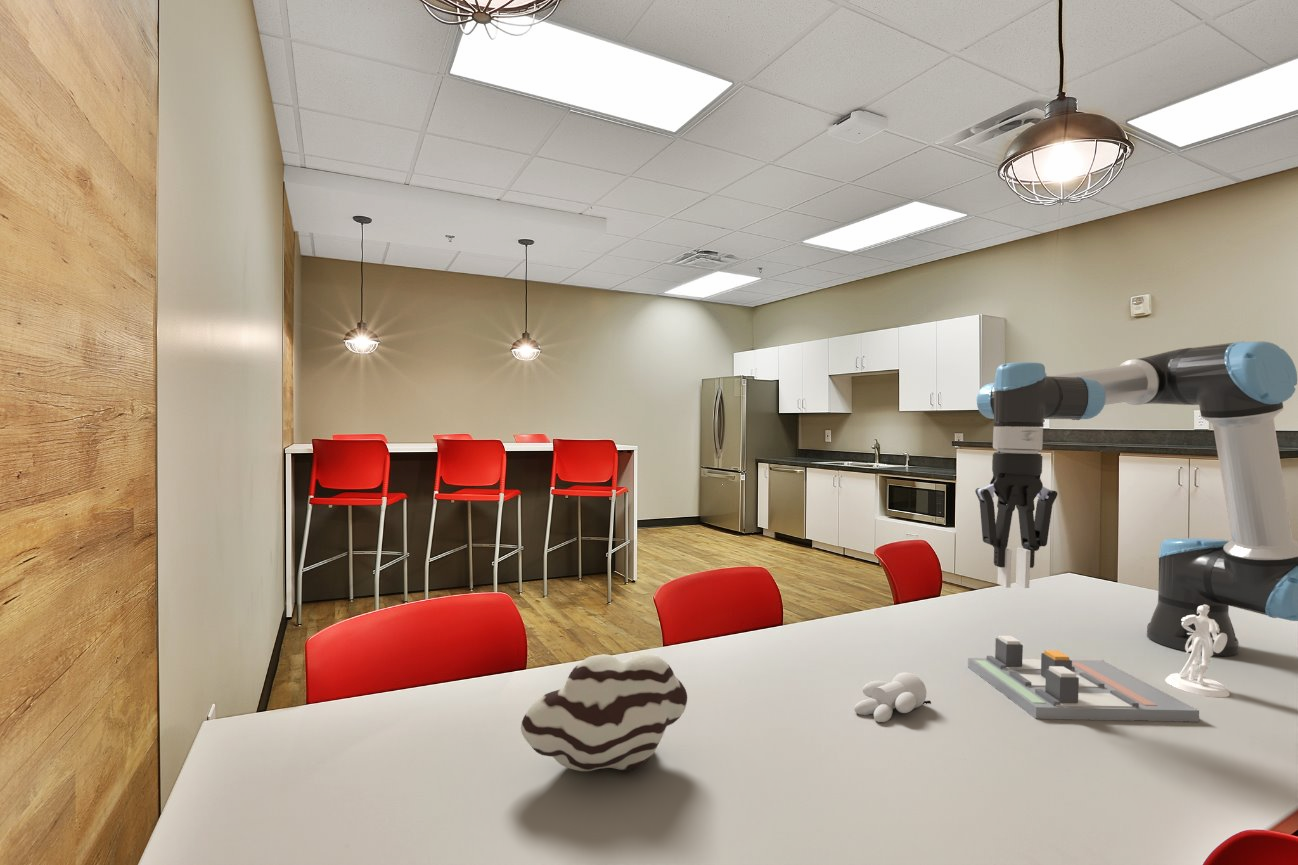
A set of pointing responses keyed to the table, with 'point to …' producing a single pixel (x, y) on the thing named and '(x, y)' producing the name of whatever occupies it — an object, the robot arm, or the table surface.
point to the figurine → (1206, 646)
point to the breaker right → (1062, 684)
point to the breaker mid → (1054, 661)
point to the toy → (892, 696)
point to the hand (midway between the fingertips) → (1013, 585)
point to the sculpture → (606, 713)
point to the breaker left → (1009, 651)
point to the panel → (1084, 692)
